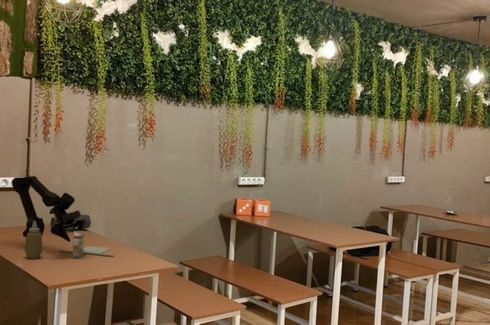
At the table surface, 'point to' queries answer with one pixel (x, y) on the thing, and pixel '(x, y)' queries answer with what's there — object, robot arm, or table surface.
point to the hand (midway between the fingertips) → (76, 239)
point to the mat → (95, 250)
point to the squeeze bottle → (33, 242)
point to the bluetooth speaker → (84, 217)
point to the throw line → (88, 253)
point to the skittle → (78, 244)
